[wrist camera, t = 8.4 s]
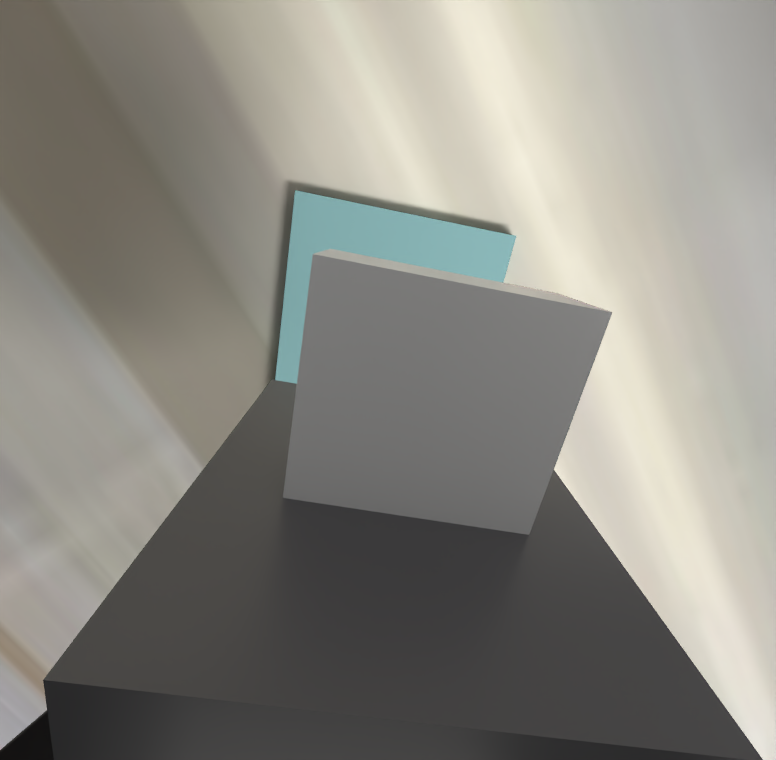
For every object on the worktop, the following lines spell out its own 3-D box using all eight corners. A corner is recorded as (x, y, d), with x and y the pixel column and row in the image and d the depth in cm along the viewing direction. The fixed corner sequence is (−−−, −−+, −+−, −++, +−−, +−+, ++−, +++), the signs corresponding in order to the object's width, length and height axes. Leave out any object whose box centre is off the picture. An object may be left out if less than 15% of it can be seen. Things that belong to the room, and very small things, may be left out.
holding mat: (429, 537, 20) (430, 543, 19) (263, 512, 19) (260, 518, 19) (512, 235, 15) (516, 235, 15) (297, 191, 15) (295, 190, 14)
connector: (412, 747, 10) (437, 1177, 6) (236, 728, 10) (106, 1166, 5) (563, 286, 7) (1025, 427, 2) (286, 232, 6) (-15, 233, 2)
